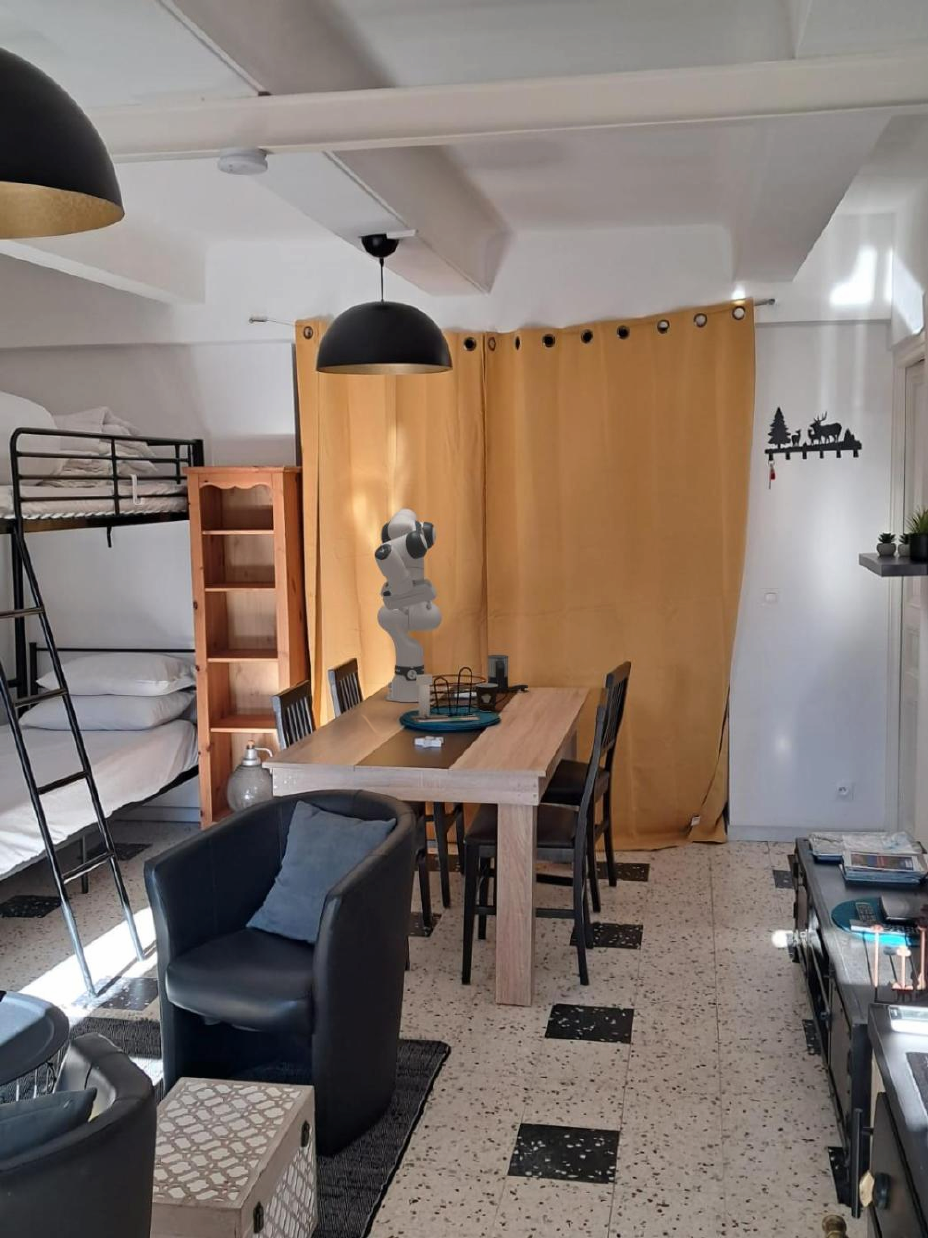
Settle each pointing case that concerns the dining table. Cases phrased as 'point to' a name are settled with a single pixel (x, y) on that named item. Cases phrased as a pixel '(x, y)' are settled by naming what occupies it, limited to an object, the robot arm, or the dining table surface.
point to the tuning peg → (424, 694)
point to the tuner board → (445, 718)
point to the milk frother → (500, 672)
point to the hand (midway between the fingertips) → (418, 611)
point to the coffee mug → (487, 696)
